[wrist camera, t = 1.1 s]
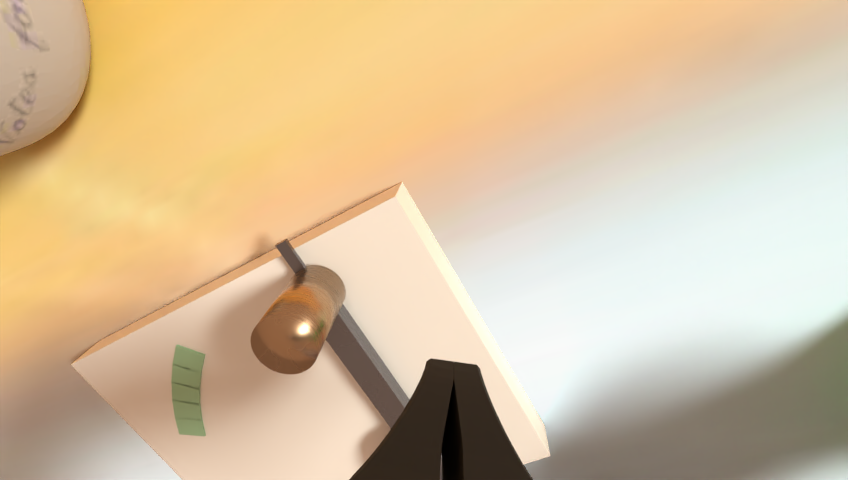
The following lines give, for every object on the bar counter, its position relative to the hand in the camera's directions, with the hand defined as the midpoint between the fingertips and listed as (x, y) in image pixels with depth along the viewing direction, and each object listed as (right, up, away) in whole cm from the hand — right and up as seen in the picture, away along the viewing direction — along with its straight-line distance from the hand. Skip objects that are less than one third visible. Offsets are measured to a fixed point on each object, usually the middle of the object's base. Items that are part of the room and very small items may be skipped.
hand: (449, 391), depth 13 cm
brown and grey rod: (-3, -2, +9) cm, 10 cm away
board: (-6, -4, +12) cm, 14 cm away
